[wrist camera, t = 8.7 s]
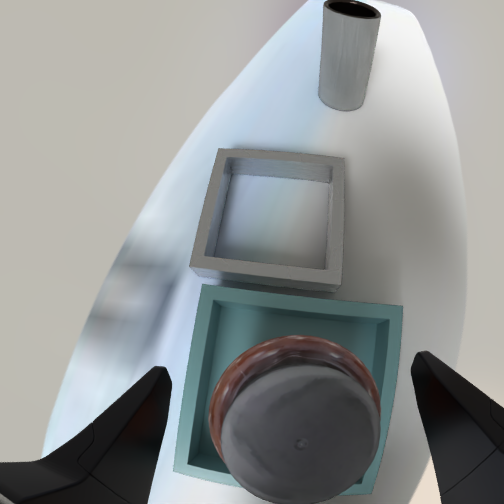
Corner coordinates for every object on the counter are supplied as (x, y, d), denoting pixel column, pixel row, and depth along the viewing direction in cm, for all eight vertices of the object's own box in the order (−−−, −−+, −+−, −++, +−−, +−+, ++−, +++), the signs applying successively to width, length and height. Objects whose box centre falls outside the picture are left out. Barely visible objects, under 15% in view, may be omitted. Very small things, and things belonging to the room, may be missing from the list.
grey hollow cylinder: (368, 112, 24) (390, 21, 14) (322, 111, 24) (331, 15, 15) (356, 84, 25) (370, 1, 16) (314, 83, 26) (318, -4, 16)
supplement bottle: (299, 451, 15) (317, 559, 4) (220, 400, 16) (135, 455, 6) (355, 375, 16) (454, 396, 5) (277, 324, 18) (270, 278, 7)
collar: (334, 292, 19) (340, 284, 17) (198, 276, 20) (189, 266, 18) (339, 175, 22) (344, 158, 20) (223, 165, 23) (218, 148, 21)
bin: (359, 476, 14) (371, 494, 11) (187, 456, 16) (172, 471, 13) (386, 313, 18) (402, 305, 15) (213, 294, 19) (202, 283, 17)
